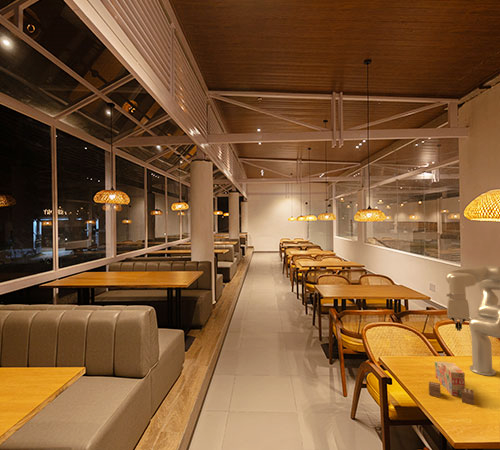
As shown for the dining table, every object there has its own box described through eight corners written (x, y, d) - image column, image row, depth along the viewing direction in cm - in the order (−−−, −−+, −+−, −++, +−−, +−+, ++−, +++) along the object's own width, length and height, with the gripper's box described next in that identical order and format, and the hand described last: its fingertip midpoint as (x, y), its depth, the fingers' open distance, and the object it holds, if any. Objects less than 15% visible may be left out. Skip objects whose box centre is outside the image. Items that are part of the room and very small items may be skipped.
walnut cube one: (429, 390, 167) (429, 380, 167) (440, 393, 165) (440, 383, 165) (429, 395, 163) (428, 384, 163) (440, 397, 160) (440, 387, 161)
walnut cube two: (461, 397, 160) (461, 387, 160) (473, 400, 157) (473, 389, 158) (461, 402, 156) (461, 391, 156) (474, 404, 153) (474, 394, 153)
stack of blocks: (435, 377, 183) (434, 355, 183) (447, 378, 182) (446, 356, 182) (452, 396, 162) (451, 371, 162) (465, 397, 161) (464, 372, 161)
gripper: (441, 296, 177) (443, 330, 176) (474, 299, 169) (475, 334, 169) (441, 294, 183) (442, 326, 183) (473, 296, 176) (474, 330, 175)
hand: (458, 330), depth 176 cm, fingers closed
